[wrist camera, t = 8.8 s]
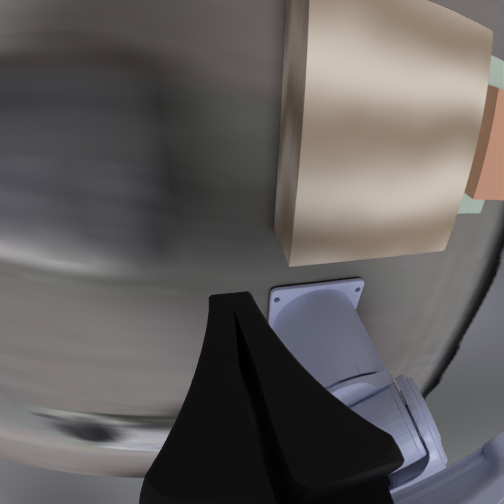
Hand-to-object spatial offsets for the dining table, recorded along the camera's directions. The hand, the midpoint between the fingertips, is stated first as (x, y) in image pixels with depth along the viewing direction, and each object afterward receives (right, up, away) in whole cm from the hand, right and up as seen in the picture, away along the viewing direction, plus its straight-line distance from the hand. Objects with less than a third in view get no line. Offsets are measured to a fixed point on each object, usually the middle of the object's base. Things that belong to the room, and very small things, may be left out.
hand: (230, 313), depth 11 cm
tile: (+21, +10, +7) cm, 24 cm away
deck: (+8, +11, +7) cm, 15 cm away
